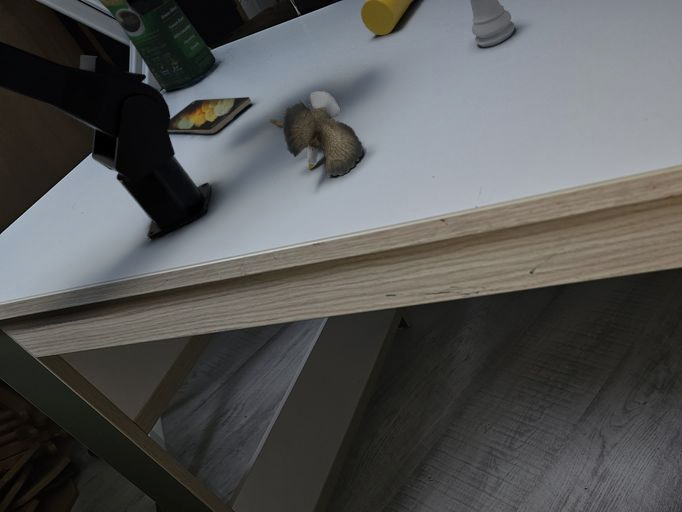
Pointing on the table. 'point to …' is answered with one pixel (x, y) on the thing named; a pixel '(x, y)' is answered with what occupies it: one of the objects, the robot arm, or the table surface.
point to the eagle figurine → (320, 133)
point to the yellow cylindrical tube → (383, 14)
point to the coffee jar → (165, 43)
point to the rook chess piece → (490, 22)
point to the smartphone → (207, 115)
